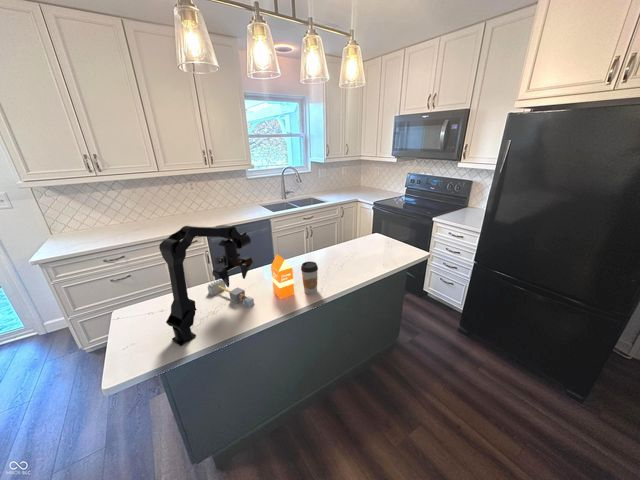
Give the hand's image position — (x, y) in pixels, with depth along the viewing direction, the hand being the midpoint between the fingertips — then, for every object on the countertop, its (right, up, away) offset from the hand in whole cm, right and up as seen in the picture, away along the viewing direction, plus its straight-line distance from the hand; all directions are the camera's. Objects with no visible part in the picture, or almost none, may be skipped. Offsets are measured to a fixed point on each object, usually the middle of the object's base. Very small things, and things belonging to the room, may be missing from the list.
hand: (236, 282), depth 122 cm
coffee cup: (+35, -6, +9) cm, 37 cm away
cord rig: (-4, -8, +6) cm, 11 cm away
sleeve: (0, -8, +3) cm, 9 cm away
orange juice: (+21, -7, +9) cm, 24 cm away
